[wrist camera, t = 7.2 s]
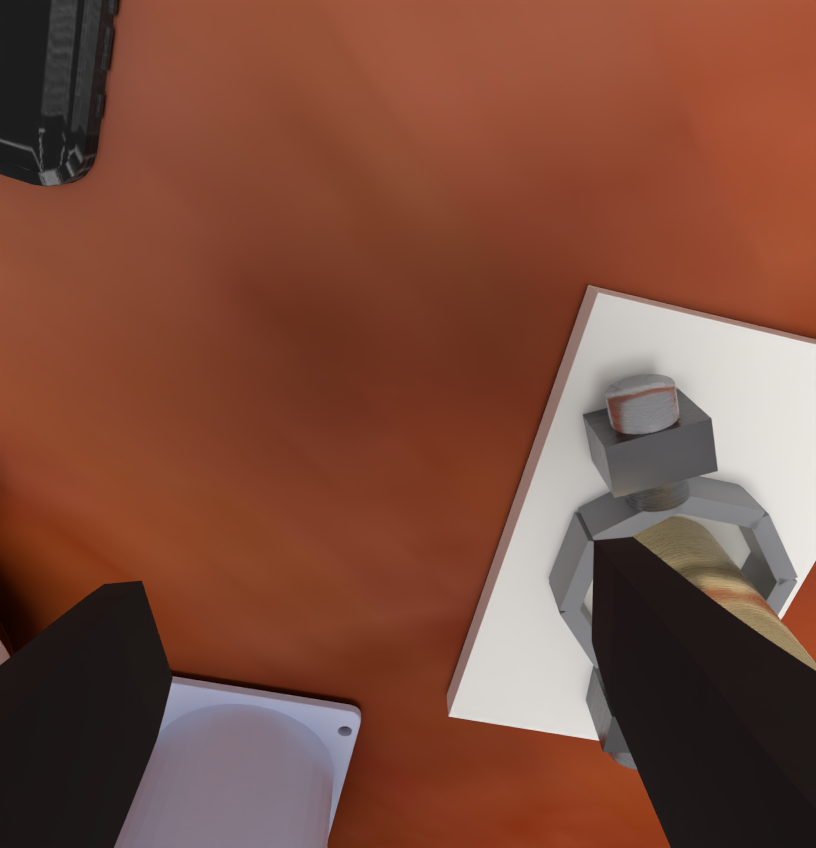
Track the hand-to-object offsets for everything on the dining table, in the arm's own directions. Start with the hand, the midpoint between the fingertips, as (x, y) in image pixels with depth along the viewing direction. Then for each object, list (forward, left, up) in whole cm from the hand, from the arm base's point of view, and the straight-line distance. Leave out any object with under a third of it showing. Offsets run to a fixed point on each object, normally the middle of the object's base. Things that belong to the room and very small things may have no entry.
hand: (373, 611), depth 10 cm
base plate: (-4, -10, -10) cm, 15 cm away
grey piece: (+1, -7, -10) cm, 13 cm away
